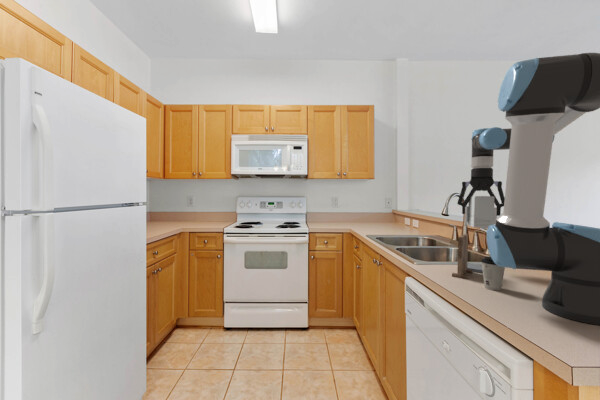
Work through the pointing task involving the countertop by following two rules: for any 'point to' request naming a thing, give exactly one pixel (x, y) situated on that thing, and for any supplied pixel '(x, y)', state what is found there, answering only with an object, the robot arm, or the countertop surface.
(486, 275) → the coffee cup
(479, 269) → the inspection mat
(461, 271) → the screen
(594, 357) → the countertop surface
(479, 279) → the countertop surface
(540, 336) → the countertop surface
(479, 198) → the supplement box
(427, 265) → the countertop surface
